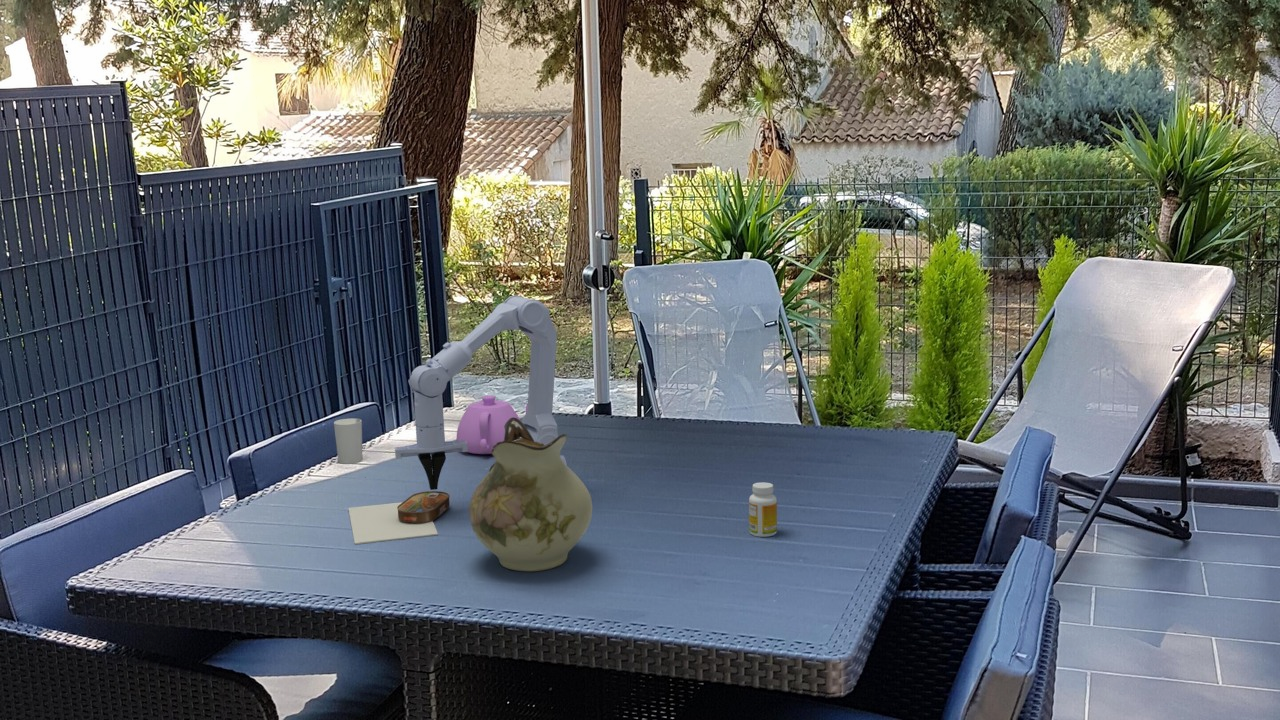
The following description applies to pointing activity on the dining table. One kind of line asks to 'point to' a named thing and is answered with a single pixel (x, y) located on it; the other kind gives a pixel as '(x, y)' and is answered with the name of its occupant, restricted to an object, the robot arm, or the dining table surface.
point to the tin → (423, 507)
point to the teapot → (485, 424)
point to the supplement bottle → (762, 510)
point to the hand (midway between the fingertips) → (433, 488)
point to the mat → (385, 524)
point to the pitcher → (529, 503)
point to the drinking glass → (349, 440)
